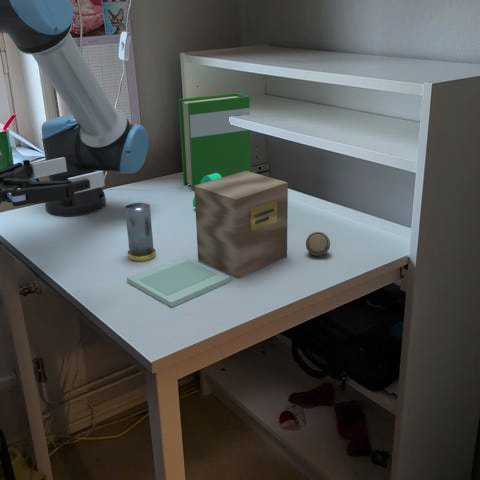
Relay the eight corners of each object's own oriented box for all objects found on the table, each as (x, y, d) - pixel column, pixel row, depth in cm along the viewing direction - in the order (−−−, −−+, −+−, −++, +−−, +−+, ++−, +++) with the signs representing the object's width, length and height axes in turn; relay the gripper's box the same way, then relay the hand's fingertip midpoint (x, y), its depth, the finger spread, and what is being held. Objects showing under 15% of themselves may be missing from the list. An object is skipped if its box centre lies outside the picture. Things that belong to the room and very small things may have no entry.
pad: (127, 282, 116) (126, 277, 116) (184, 259, 125) (184, 255, 124) (171, 307, 107) (171, 302, 106) (230, 281, 115) (230, 276, 115)
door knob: (300, 254, 126) (301, 231, 124) (318, 248, 129) (319, 226, 127) (316, 262, 123) (317, 239, 121) (334, 255, 125) (335, 233, 123)
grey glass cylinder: (122, 256, 127) (117, 207, 123) (145, 248, 131) (141, 200, 127) (138, 264, 123) (133, 213, 119) (161, 255, 127) (157, 206, 123)
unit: (198, 259, 125) (194, 185, 118) (246, 240, 133) (245, 170, 127) (239, 278, 116) (238, 200, 110) (289, 257, 125) (289, 183, 119)
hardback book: (193, 191, 165) (189, 103, 156) (183, 184, 172) (178, 99, 162) (250, 181, 173) (249, 96, 163) (238, 175, 179) (237, 92, 169)
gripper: (-56, 202, 108) (53, 177, 122) (3, 239, 91) (122, 205, 105) (-65, 161, 105) (48, 140, 119) (-6, 191, 89) (118, 163, 102)
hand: (83, 171), depth 112 cm, fingers open, 13 cm apart
